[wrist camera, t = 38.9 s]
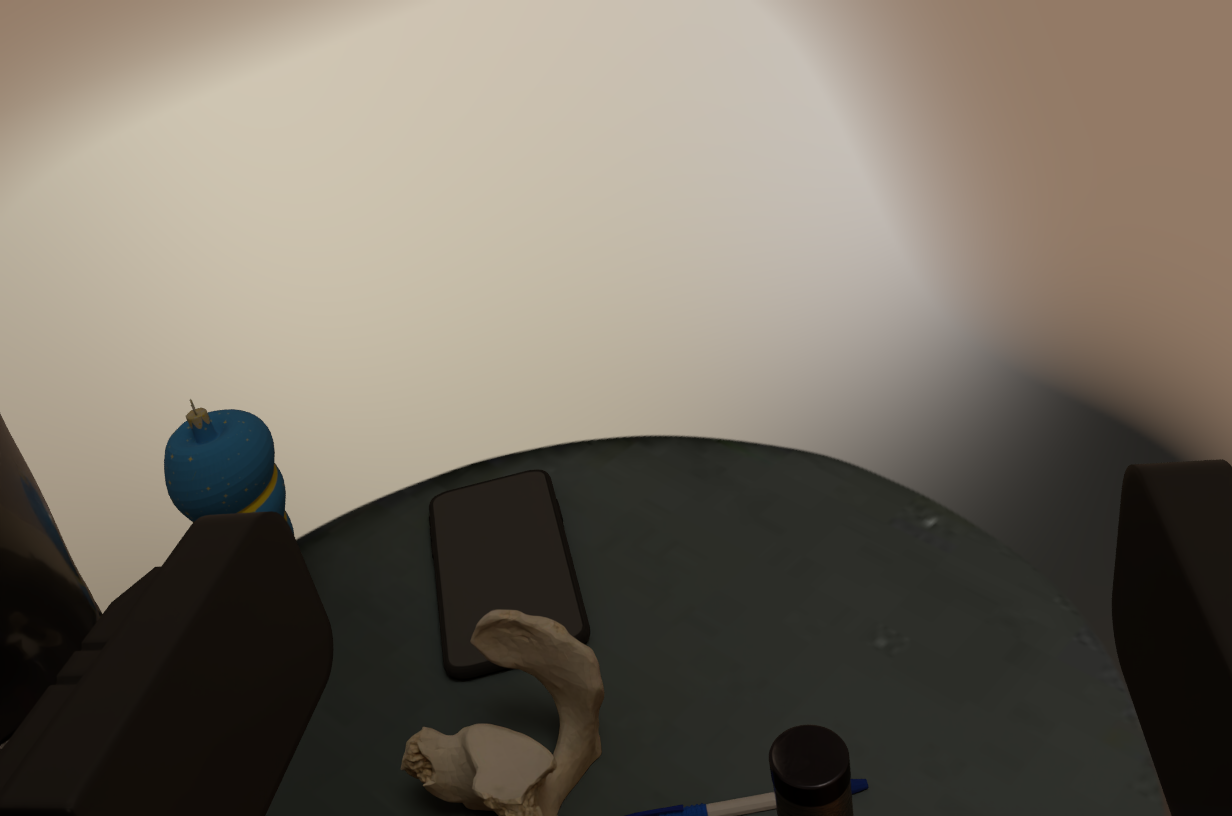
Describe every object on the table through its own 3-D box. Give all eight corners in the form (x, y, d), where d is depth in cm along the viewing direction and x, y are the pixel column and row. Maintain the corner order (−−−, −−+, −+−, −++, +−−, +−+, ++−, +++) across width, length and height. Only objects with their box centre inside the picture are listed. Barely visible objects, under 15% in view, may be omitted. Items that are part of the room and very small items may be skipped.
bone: (423, 919, 40) (365, 652, 40) (425, 855, 46) (375, 624, 46) (648, 855, 41) (592, 596, 41) (620, 800, 47) (571, 576, 48)
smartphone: (441, 676, 51) (425, 494, 64) (446, 690, 52) (429, 506, 64) (593, 636, 52) (548, 463, 64) (597, 649, 52) (551, 476, 65)
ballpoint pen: (609, 848, 43) (605, 832, 43) (607, 829, 44) (603, 813, 43) (869, 795, 43) (868, 778, 43) (862, 777, 44) (861, 761, 43)
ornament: (334, 592, 59) (238, 356, 52) (358, 647, 55) (258, 399, 47) (241, 633, 58) (127, 396, 50) (259, 693, 54) (137, 444, 46)
